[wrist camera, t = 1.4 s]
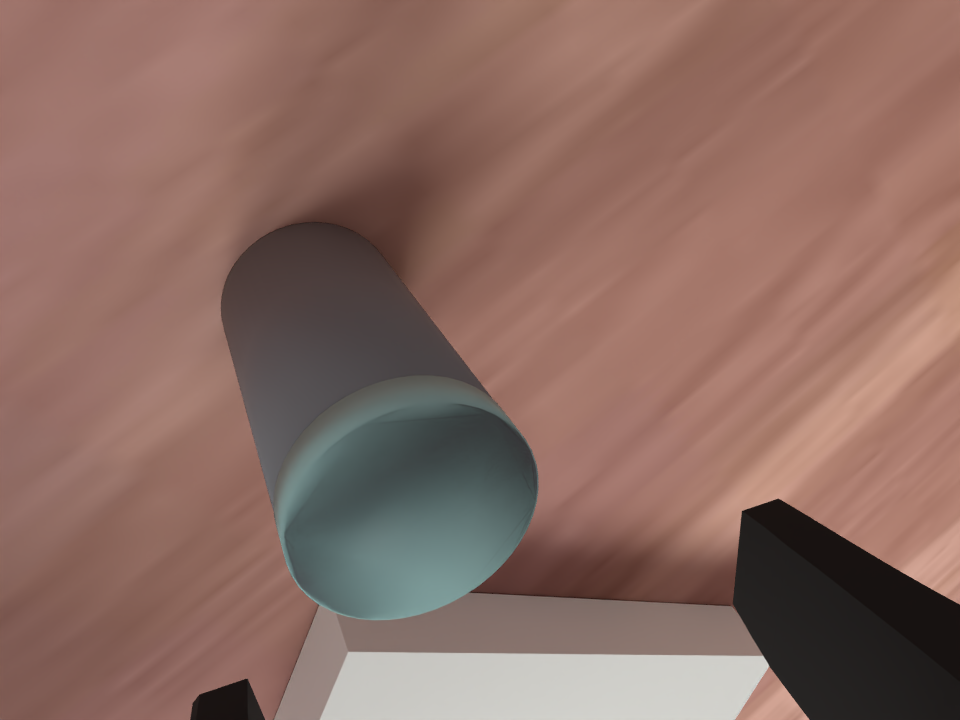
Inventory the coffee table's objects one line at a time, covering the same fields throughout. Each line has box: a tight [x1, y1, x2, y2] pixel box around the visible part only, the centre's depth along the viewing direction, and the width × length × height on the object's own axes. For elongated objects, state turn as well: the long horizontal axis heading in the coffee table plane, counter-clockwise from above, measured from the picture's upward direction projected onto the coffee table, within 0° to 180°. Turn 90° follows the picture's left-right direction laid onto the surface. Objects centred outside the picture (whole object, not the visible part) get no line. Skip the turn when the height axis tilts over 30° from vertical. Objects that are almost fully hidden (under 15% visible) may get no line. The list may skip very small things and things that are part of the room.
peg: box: [221, 222, 538, 620], centre depth 16 cm, size 4×4×8 cm
